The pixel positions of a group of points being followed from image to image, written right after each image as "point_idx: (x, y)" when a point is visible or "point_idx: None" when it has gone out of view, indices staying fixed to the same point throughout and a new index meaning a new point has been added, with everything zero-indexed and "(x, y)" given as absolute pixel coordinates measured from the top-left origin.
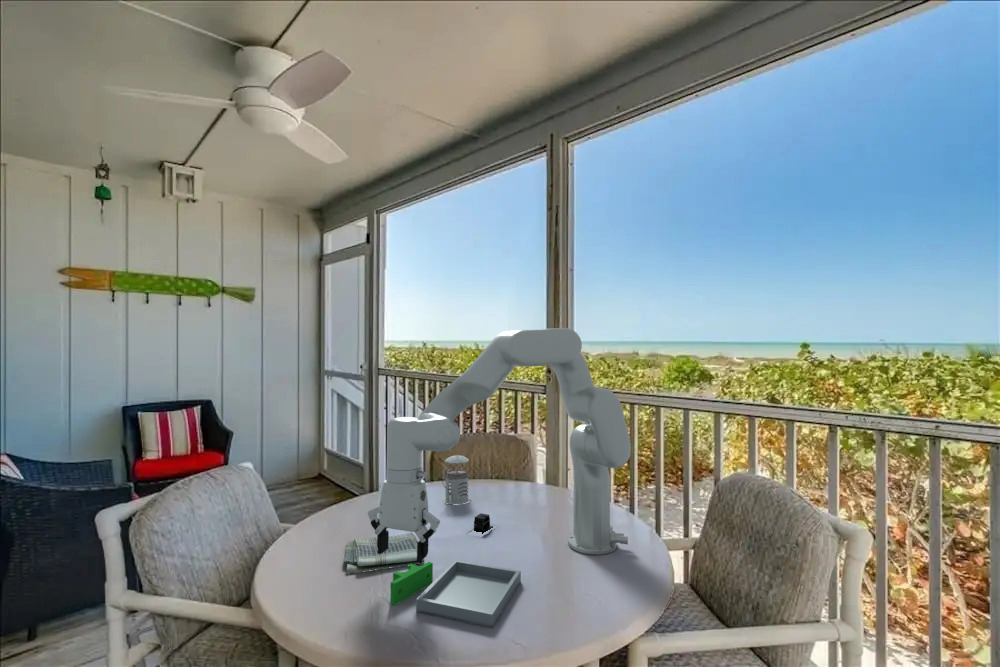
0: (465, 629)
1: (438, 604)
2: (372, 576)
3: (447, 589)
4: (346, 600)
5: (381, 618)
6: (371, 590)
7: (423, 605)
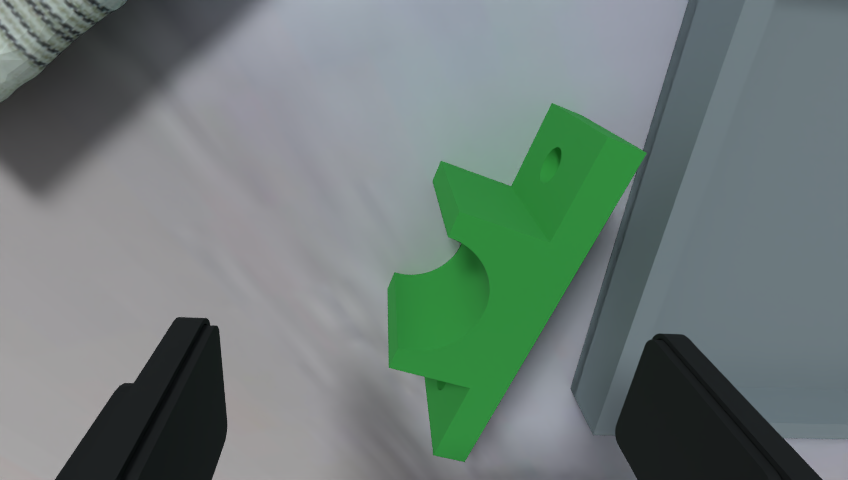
0: None
1: None
2: (121, 139)
3: (704, 202)
4: None
5: None
6: (246, 291)
7: None
